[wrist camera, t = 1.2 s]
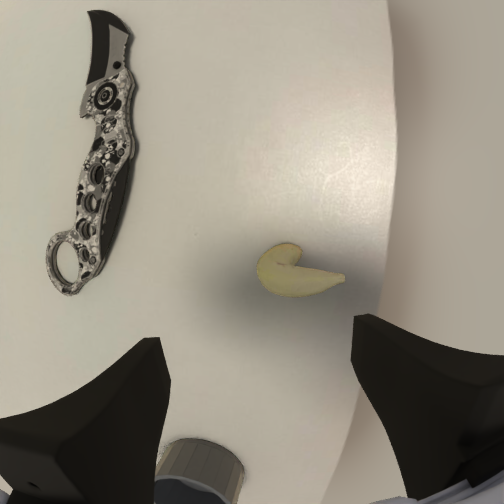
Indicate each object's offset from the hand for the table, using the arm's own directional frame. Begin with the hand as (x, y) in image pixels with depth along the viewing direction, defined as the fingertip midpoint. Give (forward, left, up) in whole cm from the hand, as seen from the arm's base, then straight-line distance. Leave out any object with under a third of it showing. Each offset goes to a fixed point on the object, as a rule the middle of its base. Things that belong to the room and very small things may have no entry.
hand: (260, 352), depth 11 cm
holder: (+4, +21, -12) cm, 25 cm away
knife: (+18, -9, -12) cm, 23 cm away
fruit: (-1, -2, -12) cm, 13 cm away
